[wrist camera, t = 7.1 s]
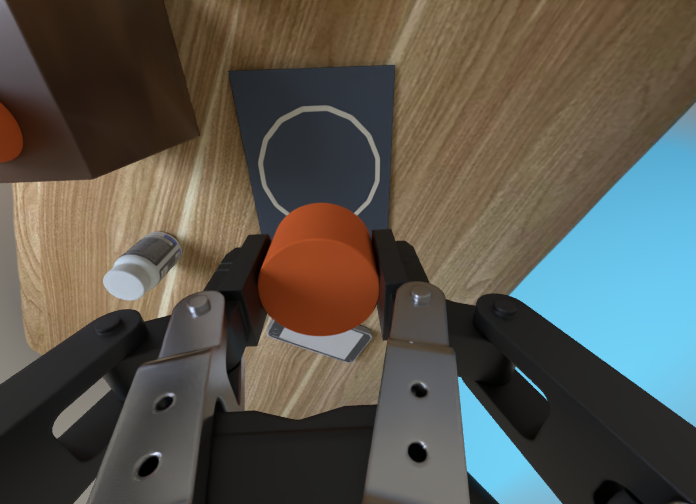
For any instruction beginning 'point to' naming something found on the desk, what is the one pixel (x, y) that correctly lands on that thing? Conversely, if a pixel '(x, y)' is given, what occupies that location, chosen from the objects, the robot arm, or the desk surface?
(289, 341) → the smartphone
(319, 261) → the dot right
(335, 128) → the dark mat with ring
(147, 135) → the desk cube
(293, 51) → the desk surface
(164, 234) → the pill bottle
